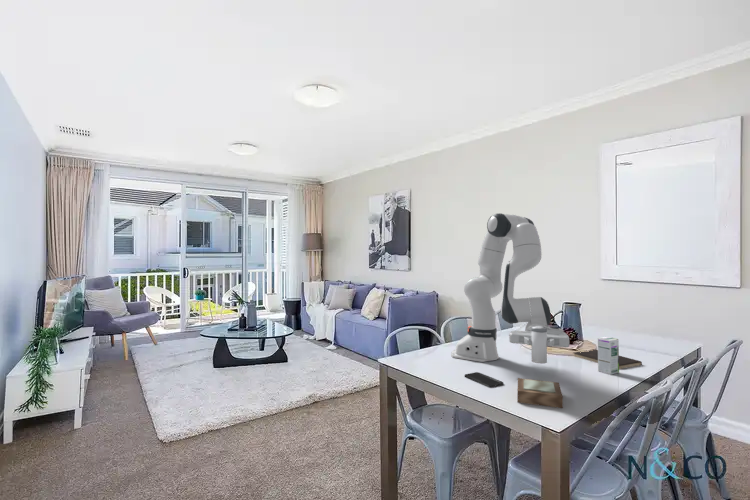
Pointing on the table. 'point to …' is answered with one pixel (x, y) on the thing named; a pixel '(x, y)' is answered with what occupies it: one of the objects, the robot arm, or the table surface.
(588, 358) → the hardcover book
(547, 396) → the walnut base
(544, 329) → the canister
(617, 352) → the syrup box
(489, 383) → the phone
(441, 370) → the table surface
